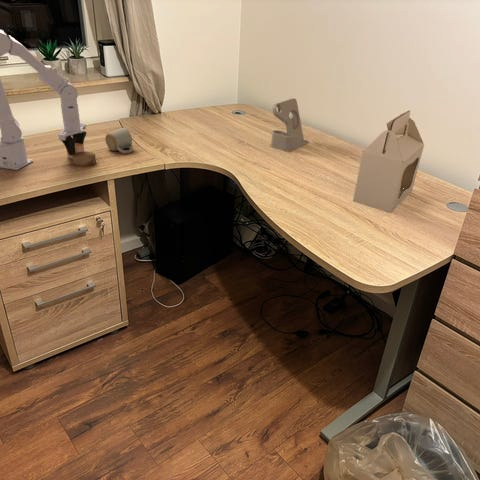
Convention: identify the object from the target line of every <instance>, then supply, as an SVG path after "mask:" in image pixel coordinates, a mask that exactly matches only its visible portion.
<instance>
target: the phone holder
mask: <svg viewBox="0 0 480 480" xmlns="http://www.w3.org/2000/svg"><path fill="white" fill-rule="evenodd" d="M297 101H298V100H297V99H296V98H294V97H293V98H288V99H286V100H283V101H280V102H277V103H274V104H273V106H272V113H273V116H274V117H276V118H277V119H278V120H280V121H281V122H282V123H284V124H285V129H286V131H282V130H278V129H277V130H273V131H272V132H271V143H270V148H273V149H276V150H279V151H282V152H286V153H289V152H293V151H295V150H297V149H299V148H301V147H303V146H306V145H308V144H309V142H310V141H309V140H307V139H305V138H304V133H303V128H302V122H301V118H300V110H299V104H298V102H297ZM290 113H291V117H290Z"/></svg>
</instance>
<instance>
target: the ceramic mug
mask: <svg viewBox="0 0 480 480" xmlns="http://www.w3.org/2000/svg"><path fill="white" fill-rule="evenodd" d="M105 144H106V146H107V147H108V149H109V150H111V151H113V152H115V151H119V152H120V153H122V154H125V153H128V154H130V152H131V153H132V152H133V148H134V147H133V137H132V135H131V132H130V131H129V129H127V128H126V127H122V128H118V129H116V130H113V131H110V132H108V133H106V135H105ZM127 148H130V149H128V150H125V149H127Z"/></svg>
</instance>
